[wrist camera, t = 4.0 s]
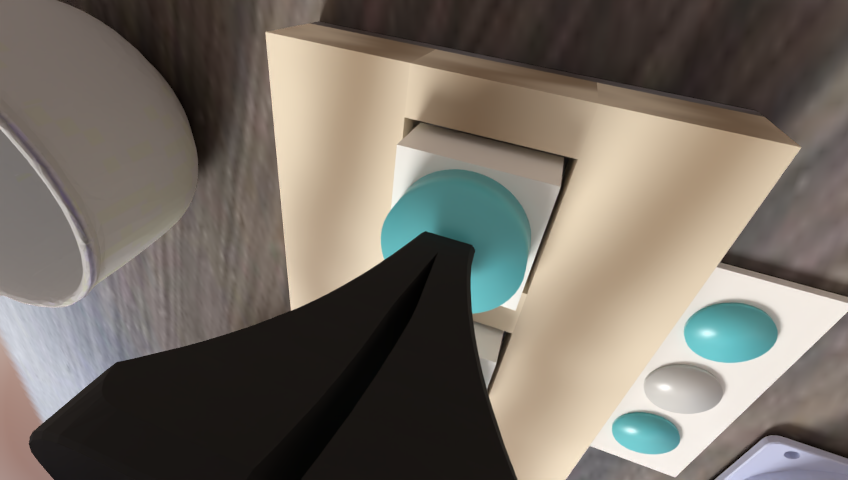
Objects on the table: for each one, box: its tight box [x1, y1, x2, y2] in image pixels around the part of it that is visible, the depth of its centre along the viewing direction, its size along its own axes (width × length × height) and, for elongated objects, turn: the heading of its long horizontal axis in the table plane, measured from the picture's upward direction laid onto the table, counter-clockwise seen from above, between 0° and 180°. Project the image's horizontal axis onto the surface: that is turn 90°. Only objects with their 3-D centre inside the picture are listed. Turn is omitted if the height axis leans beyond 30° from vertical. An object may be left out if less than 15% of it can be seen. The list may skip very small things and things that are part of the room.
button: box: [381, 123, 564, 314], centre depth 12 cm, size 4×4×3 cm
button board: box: [265, 22, 801, 480], centre depth 18 cm, size 14×22×3 cm, turn 174°
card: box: [590, 262, 848, 477], centre depth 17 cm, size 5×12×1 cm, turn 174°
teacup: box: [0, 0, 198, 307], centre depth 17 cm, size 14×11×8 cm
